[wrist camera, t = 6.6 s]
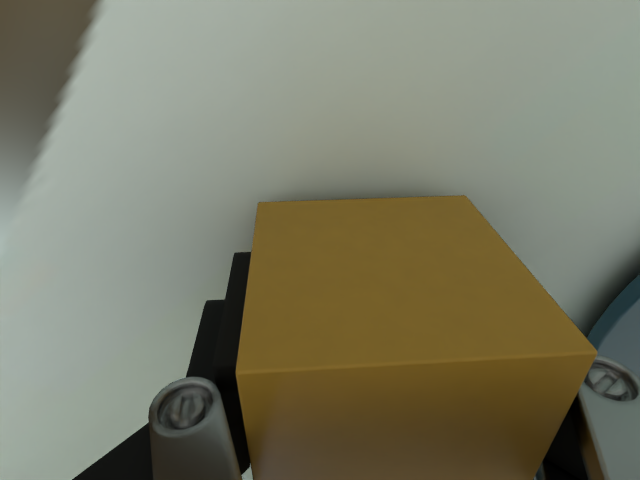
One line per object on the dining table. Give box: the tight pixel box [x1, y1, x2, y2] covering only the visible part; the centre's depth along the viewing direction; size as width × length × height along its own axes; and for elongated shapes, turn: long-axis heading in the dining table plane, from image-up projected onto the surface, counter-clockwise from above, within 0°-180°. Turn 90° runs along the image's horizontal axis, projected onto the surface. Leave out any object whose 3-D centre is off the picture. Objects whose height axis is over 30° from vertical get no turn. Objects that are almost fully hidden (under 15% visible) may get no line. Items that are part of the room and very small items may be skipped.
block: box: [235, 195, 597, 480], centre depth 10 cm, size 6×6×6 cm
